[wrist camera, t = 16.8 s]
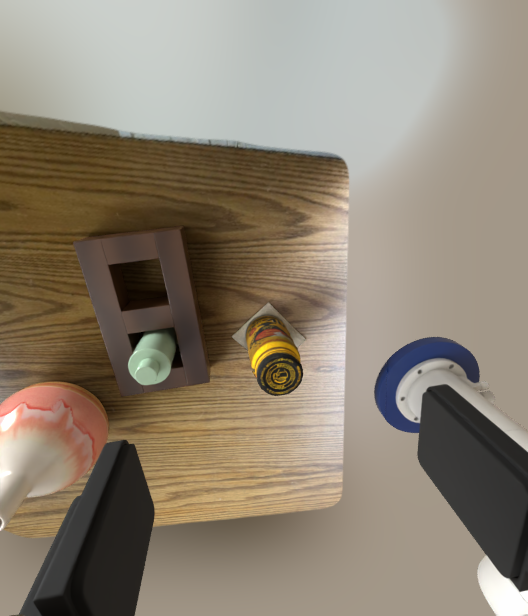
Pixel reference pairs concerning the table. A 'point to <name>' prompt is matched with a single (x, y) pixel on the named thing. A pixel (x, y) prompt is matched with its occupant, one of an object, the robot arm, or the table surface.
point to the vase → (47, 441)
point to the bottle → (153, 356)
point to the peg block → (145, 303)
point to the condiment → (272, 351)
